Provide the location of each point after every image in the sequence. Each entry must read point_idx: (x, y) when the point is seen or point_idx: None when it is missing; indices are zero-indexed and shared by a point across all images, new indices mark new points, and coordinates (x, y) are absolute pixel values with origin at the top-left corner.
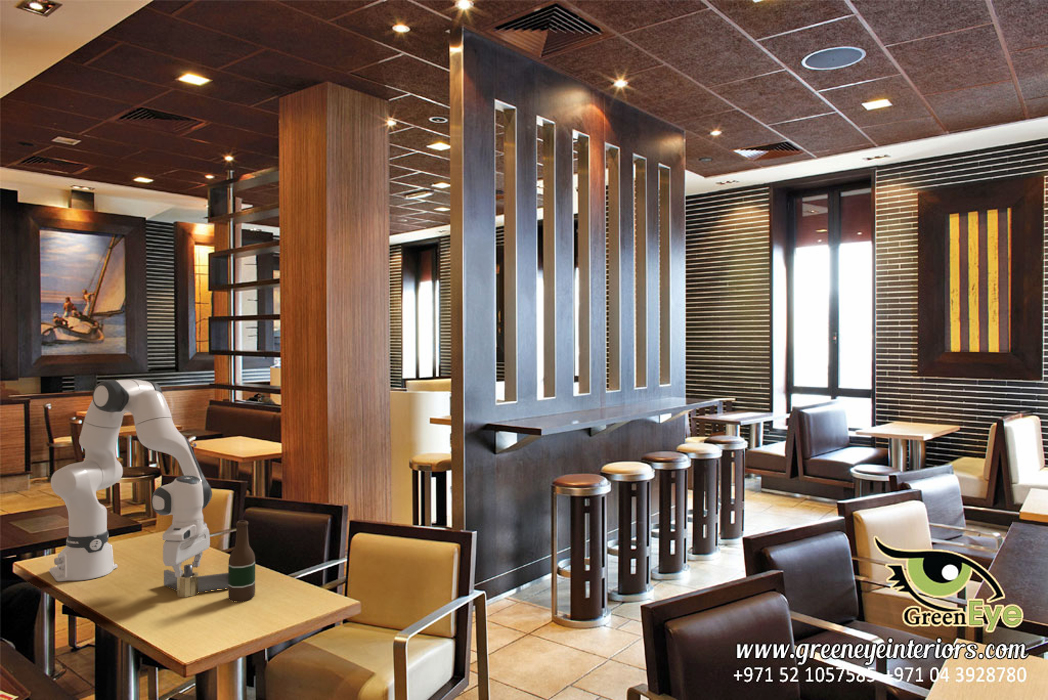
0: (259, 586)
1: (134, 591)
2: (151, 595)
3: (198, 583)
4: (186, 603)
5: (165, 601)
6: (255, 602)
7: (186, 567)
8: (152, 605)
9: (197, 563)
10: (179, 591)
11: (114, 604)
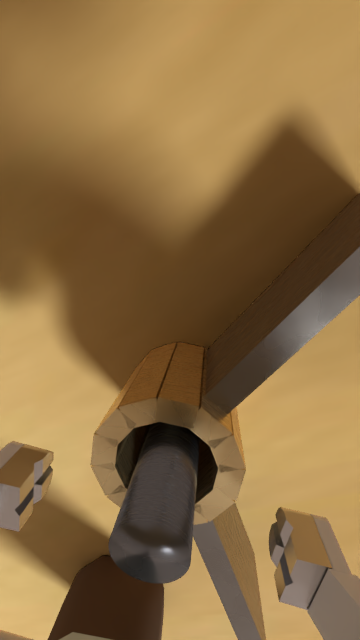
0: None
1: (267, 15)
2: (172, 197)
3: None
4: (59, 419)
5: (80, 319)
6: None
7: (112, 537)
8: (25, 276)
9: (277, 582)
10: (128, 379)
11: (20, 19)
